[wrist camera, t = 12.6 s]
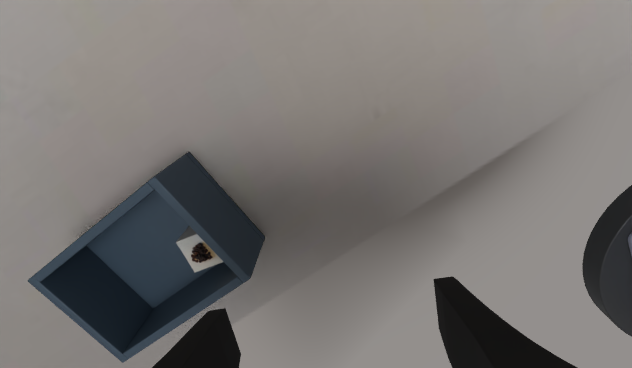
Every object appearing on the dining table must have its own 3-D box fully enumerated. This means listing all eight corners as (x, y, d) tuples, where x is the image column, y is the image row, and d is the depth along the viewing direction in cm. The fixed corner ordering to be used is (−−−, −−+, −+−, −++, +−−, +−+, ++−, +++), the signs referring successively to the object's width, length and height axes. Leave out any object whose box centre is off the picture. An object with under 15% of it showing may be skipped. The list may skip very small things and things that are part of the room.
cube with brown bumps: (236, 241, 23) (225, 263, 21) (207, 252, 23) (192, 275, 21) (219, 212, 22) (206, 231, 20) (189, 224, 23) (173, 245, 20)
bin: (189, 151, 22) (154, 176, 17) (265, 237, 23) (250, 278, 19) (80, 240, 24) (26, 281, 20) (157, 311, 26) (122, 363, 22)
